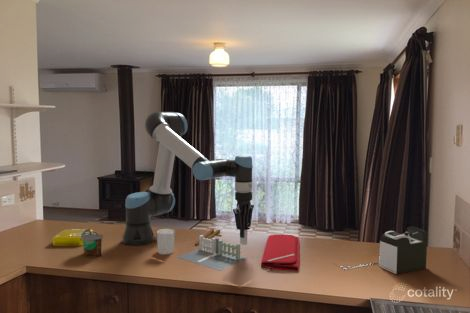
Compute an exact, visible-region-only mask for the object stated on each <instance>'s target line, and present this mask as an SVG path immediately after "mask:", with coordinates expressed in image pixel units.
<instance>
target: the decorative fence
mask: <svg viewBox="0 0 470 313" xmlns="http://www.w3.org/2000/svg"><path fill="white" fill-rule="evenodd" d="M219 233H221V229H217V230H215V229H212V228H211V229H210V230H208V231H207V232H206V233H205V234H204V235H203V236H204V238H206V239H212V238H215V236H216V237H222V234H219ZM194 246H199V240H197V241H196V242H195V243H194Z"/></svg>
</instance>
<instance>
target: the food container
mask: <svg viewBox="0 0 470 313" xmlns="http://www.w3.org/2000/svg"><path fill="white" fill-rule="evenodd" d="M86 229H87V230H84V231H83V232H82V234H81V238H82V239H83V245H82V246H83V247H82V248H83V254H84V256H85V257H89V258H95V257H102V246H103V245H102V244H103V243H102V240H103V234H102V233H99V234H98V232H95V231H93V232H91V231H90V229H91V228H86Z"/></svg>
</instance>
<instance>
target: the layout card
mask: <svg viewBox="0 0 470 313" xmlns="http://www.w3.org/2000/svg"><path fill="white" fill-rule="evenodd" d="M177 258H178V259H181V260H185V261H187V262H191V263H193V264H196V265H200V266H203V267H206V268H211V269H212V270H213V269H214V270H217V271H220V272H221V271H222V270H224V269H227V268H229V267H230V266H231V267H232V265H235V264H237V263H238V262H240V261H243V260H244V259H247V257H245V256H242V255H240V259H236V256H234V257H233V256H232V255H231V254H230V255H228V254H227V253H226V254H224V253H223V254H218V253H216V252H215V253H211V252H209V251H206V250H204V249H203V250H200V249H199V248H197V249H194V250H192V251H189V252H185V253H184V254H181V255H178V256H177Z"/></svg>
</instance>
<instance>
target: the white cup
mask: <svg viewBox="0 0 470 313" xmlns="http://www.w3.org/2000/svg"><path fill="white" fill-rule="evenodd" d="M175 233H176V232H175V229H173V228H172V229H171V228H161V229H158V230H157V231H156V243H157V244H156V246H157V252H158V254H159V255H170V254H172V253H174V247H175Z"/></svg>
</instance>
